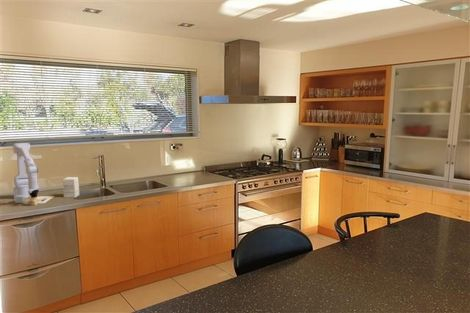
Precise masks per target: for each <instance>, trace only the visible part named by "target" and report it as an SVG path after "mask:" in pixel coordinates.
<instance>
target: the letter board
mask: <svg viewBox="0 0 470 313" xmlns="http://www.w3.org/2000/svg"><path fill="white" fill-rule="evenodd" d="M54 197H55V195H47V196H45V195H43V196H40V195H39V196H37V198H38V203H37V204H46V203H47V202H48V201H50V200H51V199H53V198H54ZM22 205H26V202H25V201H24V202H23V203H22Z"/></svg>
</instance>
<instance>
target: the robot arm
mask: <svg viewBox="0 0 470 313" xmlns="http://www.w3.org/2000/svg"><path fill="white" fill-rule="evenodd" d="M12 147H13V148H12V150H13V153H14V154H15V155H16V159H17V160H16V161H17V162H16V163H17V175H15V176H14V178H13V179H14V180H13V184H14V187H13V189H12V190H13V199H14V200H15V197H16V196H17V195H25V199H28V198H31V197H38V194H39V192H40V185H39V183H38V172H39V167H38V165H37V164H36V163H35V162H34V159H33V158H32V157H31V156H30V150H31V144H30V143H29V142H17V143H16V142H15V143H14V144H13V145H12Z"/></svg>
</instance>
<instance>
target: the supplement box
mask: <svg viewBox="0 0 470 313" xmlns="http://www.w3.org/2000/svg"><path fill="white" fill-rule="evenodd" d="M62 186H63V189H62V190H63V198H77V197H78V196H80V184H79V177H78V176H72V177H71V176H67V177H65V178H63V179H62Z"/></svg>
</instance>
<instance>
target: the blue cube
mask: <svg viewBox="0 0 470 313" xmlns="http://www.w3.org/2000/svg"><path fill="white" fill-rule="evenodd" d="M26 200H27V199H26V198H25V195H17V196H16V197H15V199H14V203H15V204H16V203H20V204H21V203H22V204H23V203H25V201H26Z"/></svg>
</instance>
